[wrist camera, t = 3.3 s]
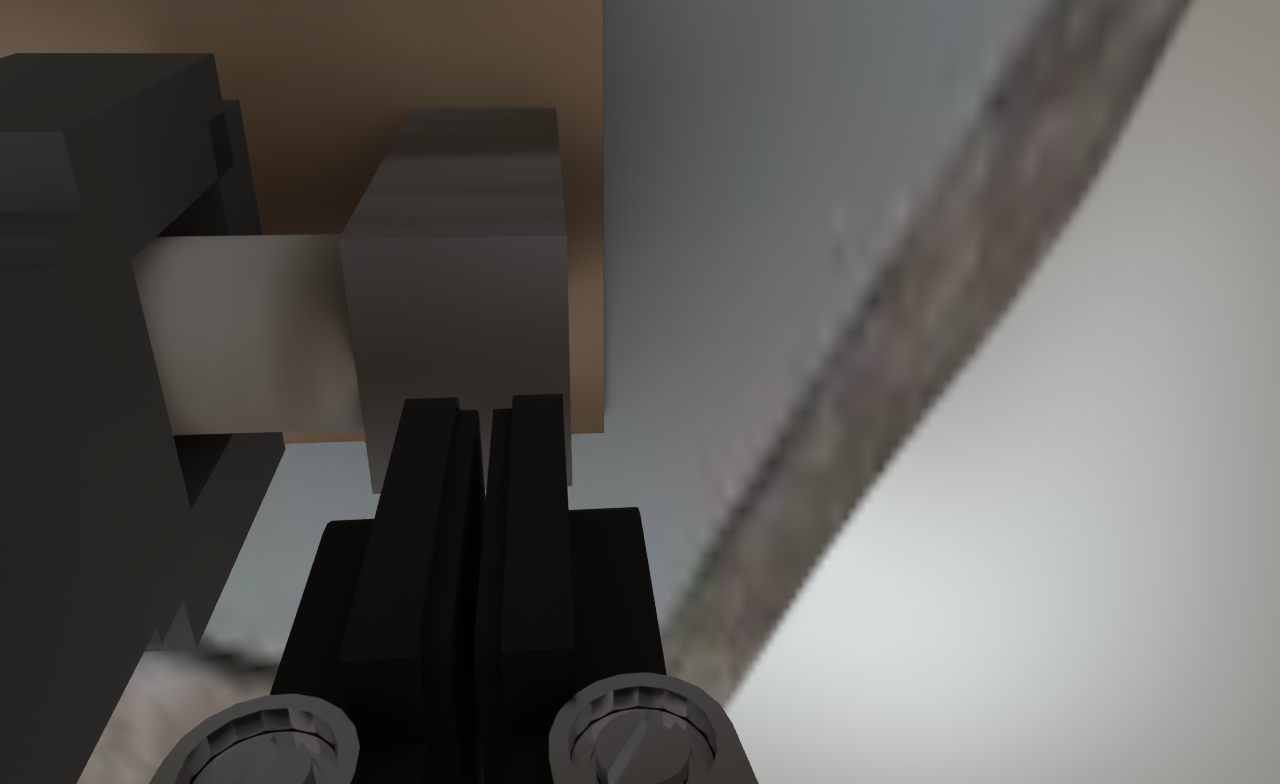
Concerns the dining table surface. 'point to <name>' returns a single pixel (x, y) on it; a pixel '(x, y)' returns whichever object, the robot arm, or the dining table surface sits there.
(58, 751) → the collar
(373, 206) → the pipe rig
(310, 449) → the dining table surface
